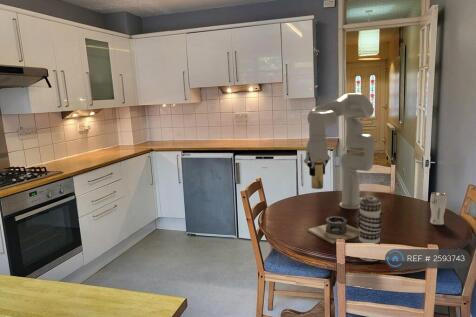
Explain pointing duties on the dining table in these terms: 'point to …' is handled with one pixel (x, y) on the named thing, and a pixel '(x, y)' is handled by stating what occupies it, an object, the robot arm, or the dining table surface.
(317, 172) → the gold cylinder
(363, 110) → the robot arm
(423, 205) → the dining table surface
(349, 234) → the board
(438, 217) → the beer glass
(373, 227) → the decorative candle
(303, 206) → the dining table surface
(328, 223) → the ring
